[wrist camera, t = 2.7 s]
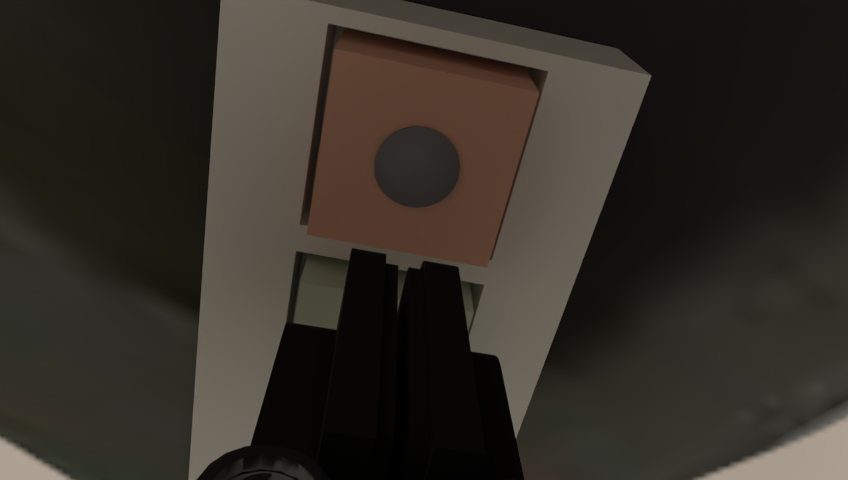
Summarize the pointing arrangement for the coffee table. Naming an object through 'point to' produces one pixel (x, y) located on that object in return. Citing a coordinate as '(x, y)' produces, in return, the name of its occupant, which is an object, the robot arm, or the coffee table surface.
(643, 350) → the coffee table surface
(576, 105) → the keypad
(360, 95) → the terracotta key
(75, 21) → the coffee table surface
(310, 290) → the sage key
